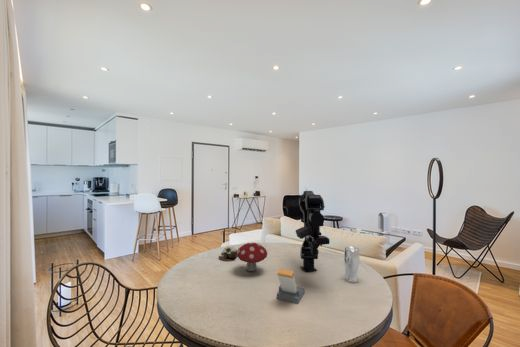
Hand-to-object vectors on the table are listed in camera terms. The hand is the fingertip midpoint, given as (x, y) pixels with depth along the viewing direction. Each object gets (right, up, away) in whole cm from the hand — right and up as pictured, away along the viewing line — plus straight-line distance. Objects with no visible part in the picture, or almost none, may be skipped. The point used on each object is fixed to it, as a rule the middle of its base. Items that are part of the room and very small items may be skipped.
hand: (313, 254), depth 114 cm
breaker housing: (-12, -13, -13) cm, 22 cm away
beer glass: (+19, -13, +2) cm, 23 cm away
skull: (-44, -13, +31) cm, 55 cm away
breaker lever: (-13, -10, -15) cm, 22 cm away
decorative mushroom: (-29, -13, +11) cm, 34 cm away
